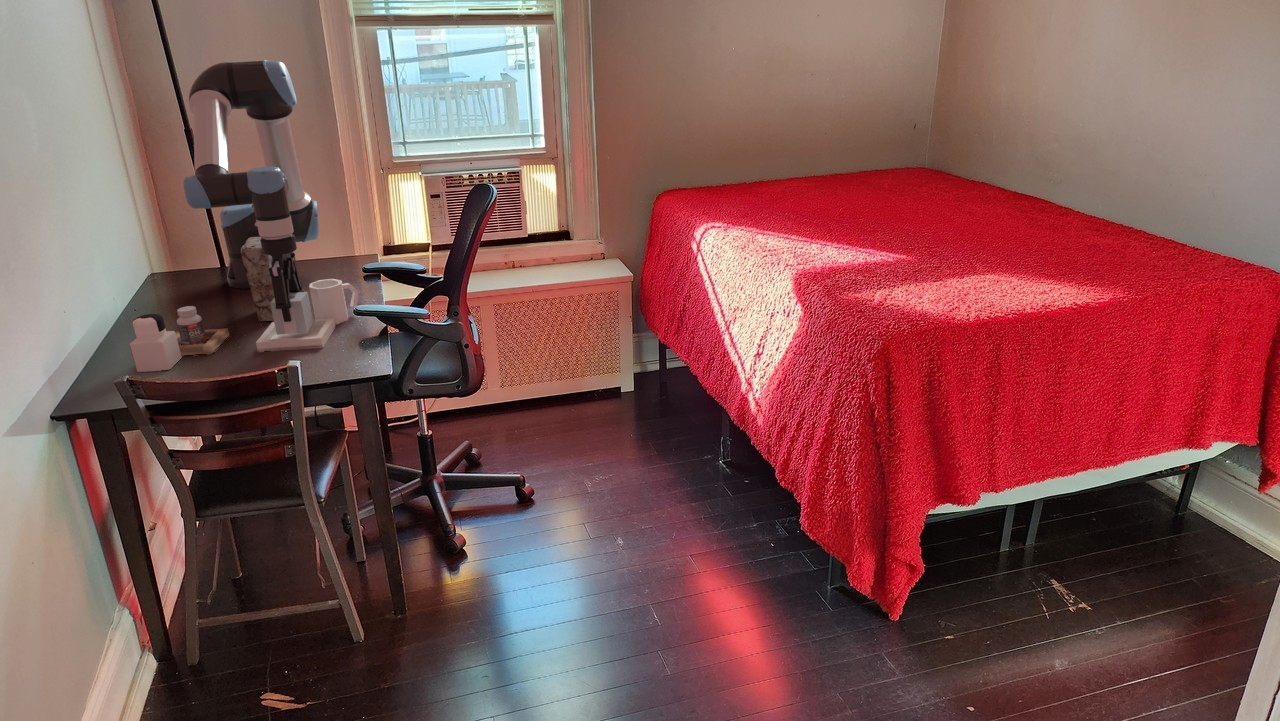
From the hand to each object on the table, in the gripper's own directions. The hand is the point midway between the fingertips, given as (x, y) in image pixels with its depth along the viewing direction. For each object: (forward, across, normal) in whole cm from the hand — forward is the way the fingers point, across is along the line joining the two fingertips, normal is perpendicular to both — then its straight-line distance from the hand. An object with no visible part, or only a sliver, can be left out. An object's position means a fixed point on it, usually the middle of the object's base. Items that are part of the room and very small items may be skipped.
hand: (295, 327), depth 204 cm
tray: (+3, 0, 0) cm, 3 cm away
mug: (+3, -14, +7) cm, 16 cm away
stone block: (+3, -21, -12) cm, 24 cm away
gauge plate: (+3, 0, -24) cm, 24 cm away
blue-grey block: (0, 0, 0) cm, 0 cm away
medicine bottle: (+3, +11, -28) cm, 30 cm away
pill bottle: (+3, 0, -24) cm, 24 cm away
